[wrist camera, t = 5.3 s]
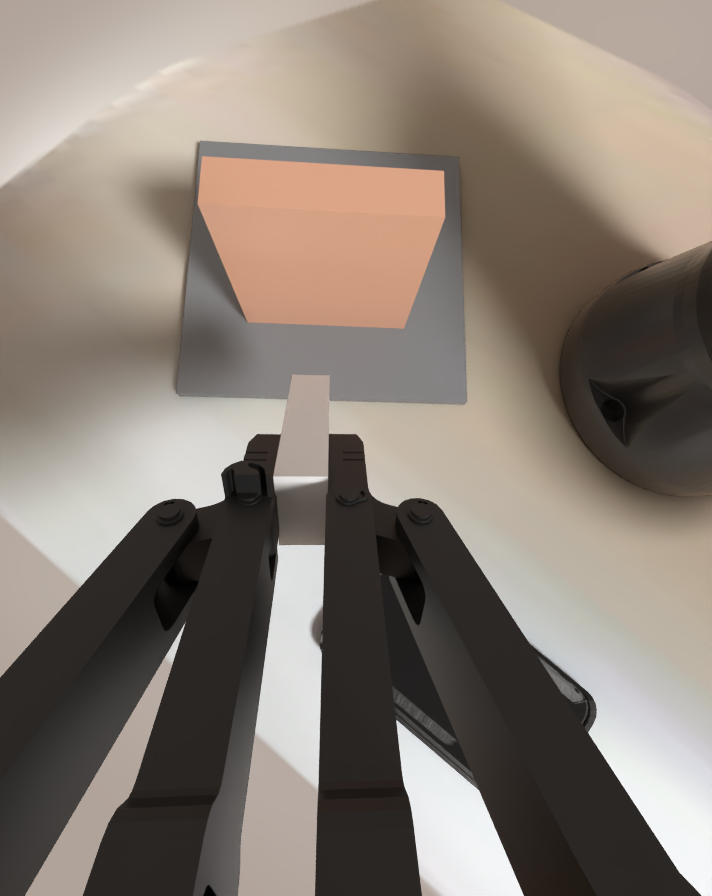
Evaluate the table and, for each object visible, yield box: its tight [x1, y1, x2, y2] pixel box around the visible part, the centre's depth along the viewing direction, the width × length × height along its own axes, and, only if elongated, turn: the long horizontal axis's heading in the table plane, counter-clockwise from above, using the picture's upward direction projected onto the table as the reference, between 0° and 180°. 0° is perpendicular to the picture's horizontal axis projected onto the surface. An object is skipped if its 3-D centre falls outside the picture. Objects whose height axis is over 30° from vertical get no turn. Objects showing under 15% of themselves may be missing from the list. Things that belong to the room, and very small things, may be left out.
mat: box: [176, 141, 467, 405], centre depth 28 cm, size 18×18×1 cm
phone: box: [320, 573, 597, 790], centre depth 24 cm, size 8×1×15 cm
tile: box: [198, 156, 445, 329], centre depth 22 cm, size 10×2×10 cm, turn 89°
